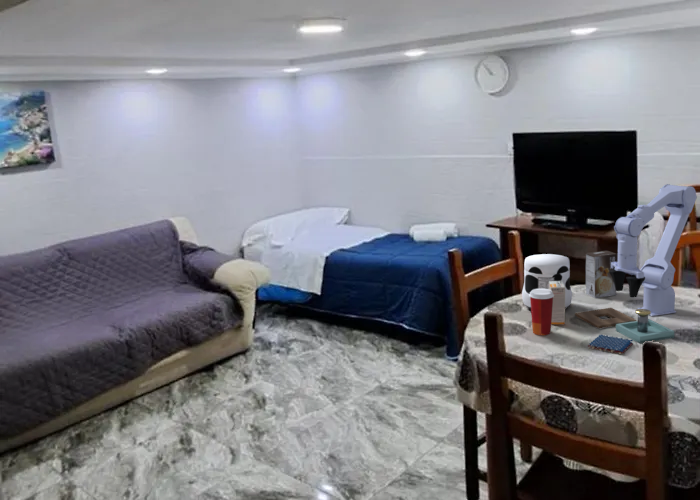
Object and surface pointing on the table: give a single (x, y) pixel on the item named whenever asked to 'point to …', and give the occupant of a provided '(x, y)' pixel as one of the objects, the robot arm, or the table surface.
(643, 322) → the gunmetal pin
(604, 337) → the woven mat
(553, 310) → the supplement box
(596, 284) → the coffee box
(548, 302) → the paper cup
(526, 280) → the milk container
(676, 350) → the table surface
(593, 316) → the walnut socket
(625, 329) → the teal tray
